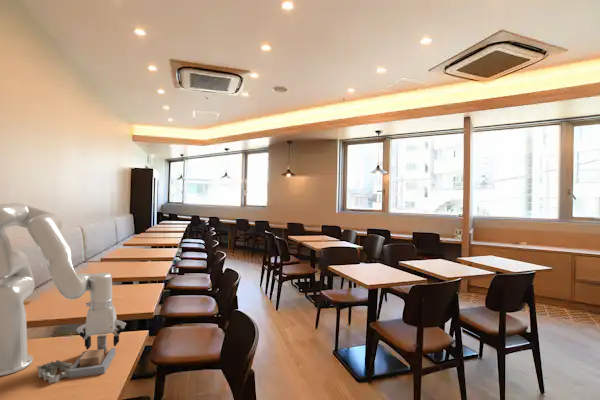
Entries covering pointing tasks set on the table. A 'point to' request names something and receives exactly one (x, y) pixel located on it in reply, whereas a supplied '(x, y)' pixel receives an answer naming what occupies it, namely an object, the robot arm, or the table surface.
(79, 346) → the table surface
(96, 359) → the tan block with knob
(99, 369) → the lane rack
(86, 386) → the table surface
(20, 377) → the table surface
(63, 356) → the table surface
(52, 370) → the grey rough openwork block
